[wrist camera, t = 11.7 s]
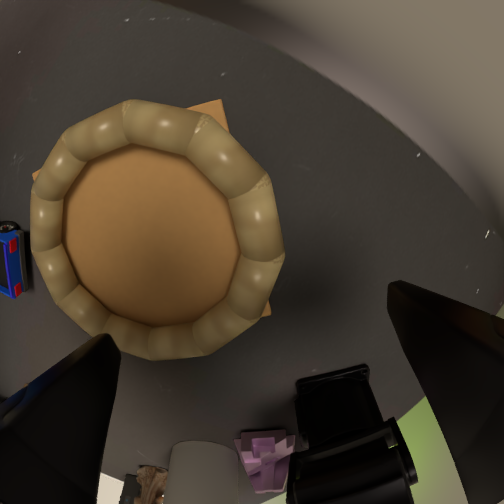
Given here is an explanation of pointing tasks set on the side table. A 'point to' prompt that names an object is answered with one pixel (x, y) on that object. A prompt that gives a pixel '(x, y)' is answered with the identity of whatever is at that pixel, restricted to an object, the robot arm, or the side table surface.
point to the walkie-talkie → (130, 490)
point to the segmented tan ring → (216, 170)
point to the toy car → (12, 260)
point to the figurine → (151, 485)
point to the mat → (151, 233)
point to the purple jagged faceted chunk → (266, 458)
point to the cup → (202, 474)
